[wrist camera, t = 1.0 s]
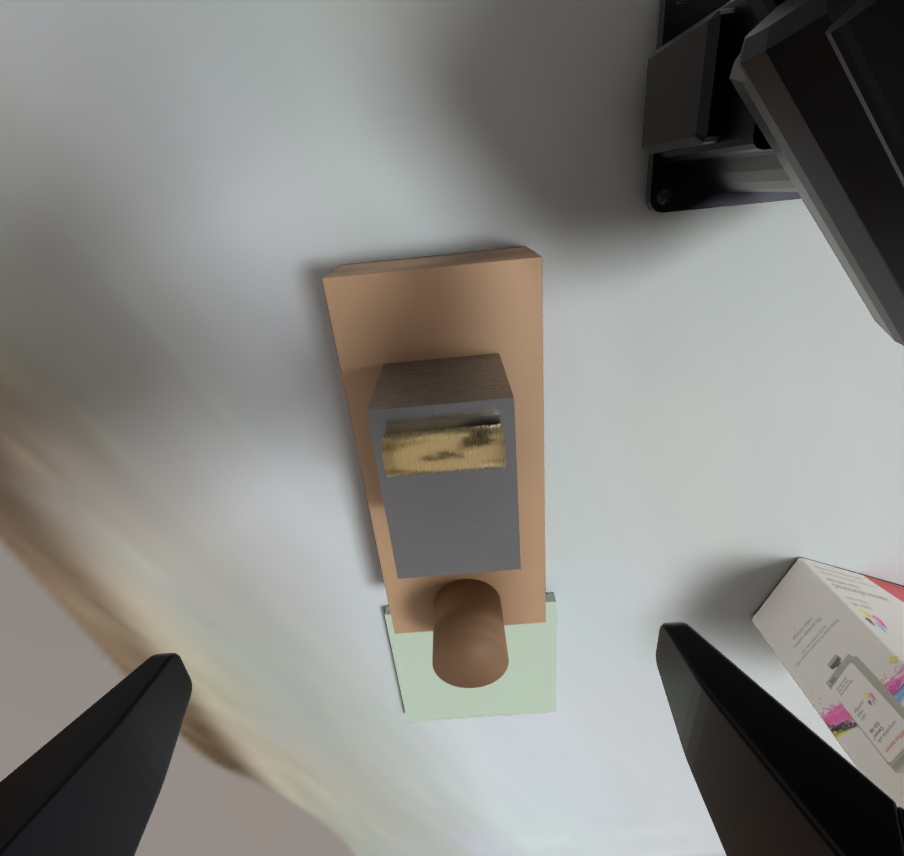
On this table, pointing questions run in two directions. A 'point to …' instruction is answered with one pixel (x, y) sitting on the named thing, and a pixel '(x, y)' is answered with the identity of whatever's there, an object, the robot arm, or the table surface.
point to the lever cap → (447, 465)
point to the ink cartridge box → (845, 660)
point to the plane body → (521, 350)
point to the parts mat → (512, 694)
